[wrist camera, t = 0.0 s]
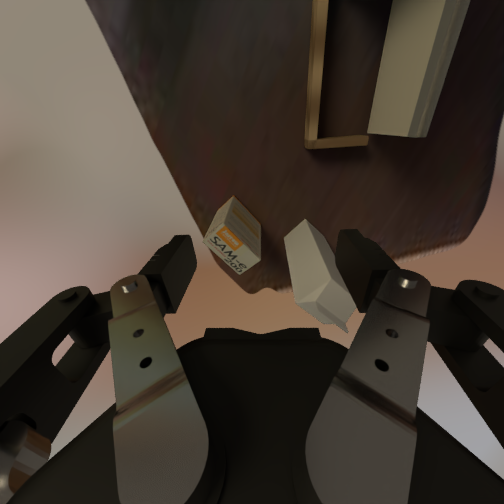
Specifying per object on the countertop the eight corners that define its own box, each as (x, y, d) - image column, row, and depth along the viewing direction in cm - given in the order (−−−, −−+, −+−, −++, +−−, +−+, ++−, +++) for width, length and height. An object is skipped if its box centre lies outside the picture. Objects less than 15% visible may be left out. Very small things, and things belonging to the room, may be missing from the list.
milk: (305, 218, 41) (340, 295, 23) (324, 236, 43) (371, 321, 25) (283, 238, 44) (297, 322, 25) (302, 254, 46) (329, 344, 27)
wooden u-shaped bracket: (318, -103, 22) (327, -138, 19) (404, -117, 22) (426, -155, 19) (304, 147, 35) (307, 149, 32) (358, 143, 34) (367, 145, 31)
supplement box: (216, 210, 41) (199, 241, 30) (234, 194, 40) (222, 221, 28) (244, 238, 44) (238, 276, 33) (262, 224, 43) (261, 260, 31)
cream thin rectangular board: (409, -100, 22) (552, -320, 11) (424, -103, 21) (583, -327, 11) (365, 132, 33) (415, 137, 22) (374, 132, 32) (429, 136, 22)
